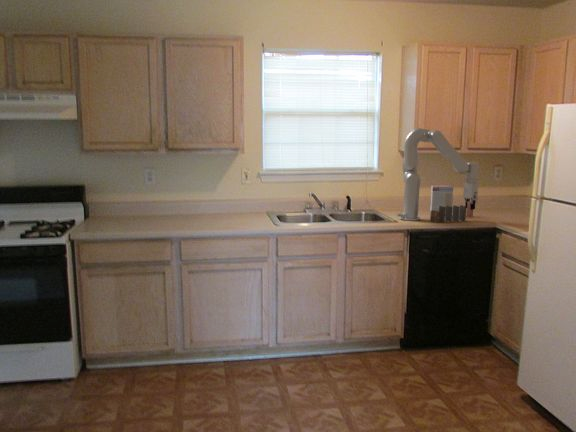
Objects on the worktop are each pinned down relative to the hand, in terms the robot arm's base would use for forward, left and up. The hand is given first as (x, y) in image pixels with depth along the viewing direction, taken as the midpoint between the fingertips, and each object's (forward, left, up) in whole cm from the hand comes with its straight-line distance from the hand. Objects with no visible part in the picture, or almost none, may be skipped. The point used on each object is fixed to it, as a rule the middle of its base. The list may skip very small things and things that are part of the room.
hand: (470, 208), depth 337 cm
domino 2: (-15, 0, -8) cm, 17 cm away
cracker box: (-8, +22, -8) cm, 25 cm away
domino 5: (0, 0, -5) cm, 5 cm away
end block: (-25, 0, -8) cm, 26 cm away
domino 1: (-20, 0, -8) cm, 22 cm away
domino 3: (-10, 0, -8) cm, 13 cm away
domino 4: (-5, 0, -8) cm, 10 cm away
